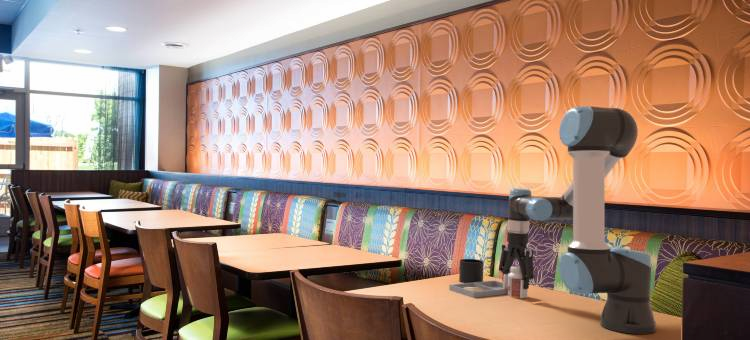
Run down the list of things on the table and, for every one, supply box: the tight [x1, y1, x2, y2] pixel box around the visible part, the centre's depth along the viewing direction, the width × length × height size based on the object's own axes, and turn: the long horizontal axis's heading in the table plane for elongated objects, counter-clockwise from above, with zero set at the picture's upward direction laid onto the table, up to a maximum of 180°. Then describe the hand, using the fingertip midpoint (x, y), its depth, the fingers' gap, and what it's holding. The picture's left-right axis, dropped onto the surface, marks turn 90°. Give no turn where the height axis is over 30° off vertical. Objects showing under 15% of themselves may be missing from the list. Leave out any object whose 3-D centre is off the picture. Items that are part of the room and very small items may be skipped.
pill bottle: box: [507, 265, 523, 299], centre depth 210 cm, size 6×6×11 cm
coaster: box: [463, 287, 484, 292], centre depth 215 cm, size 8×8×1 cm
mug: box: [458, 258, 484, 284], centre depth 237 cm, size 9×12×9 cm
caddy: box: [448, 280, 508, 299], centre depth 218 cm, size 14×22×2 cm, turn 120°
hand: (514, 294), depth 211 cm, fingers open, 8 cm apart
